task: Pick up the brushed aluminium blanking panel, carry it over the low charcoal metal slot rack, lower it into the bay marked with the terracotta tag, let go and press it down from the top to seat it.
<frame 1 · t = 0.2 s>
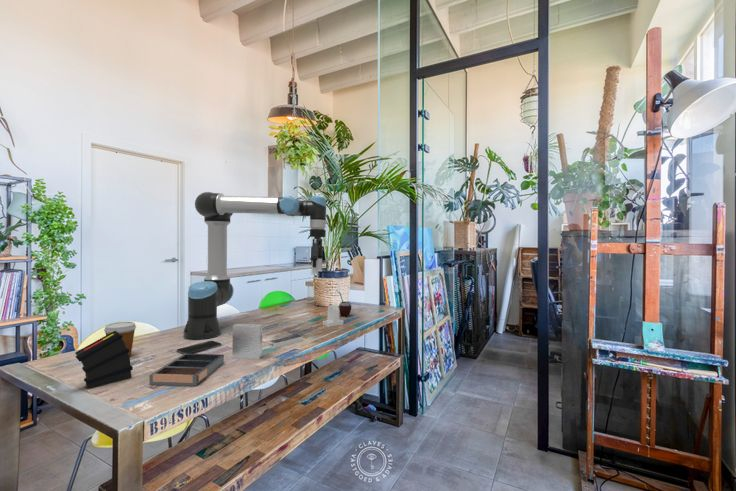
hand: (316, 272, 166), 28 cm above the table, tool pointing down, fingers open, 13 cm apart
blanking panel: (247, 357, 128), on the table
multiport hub: (286, 344, 146), on the table
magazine: (104, 383, 103), on the table
disposable coffee cup: (120, 357, 125), on the table
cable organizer: (333, 324, 178), on the table
mate gourd: (344, 316, 197), on the table
phone: (199, 349, 136), on the table
slot rack: (189, 373, 112), on the table
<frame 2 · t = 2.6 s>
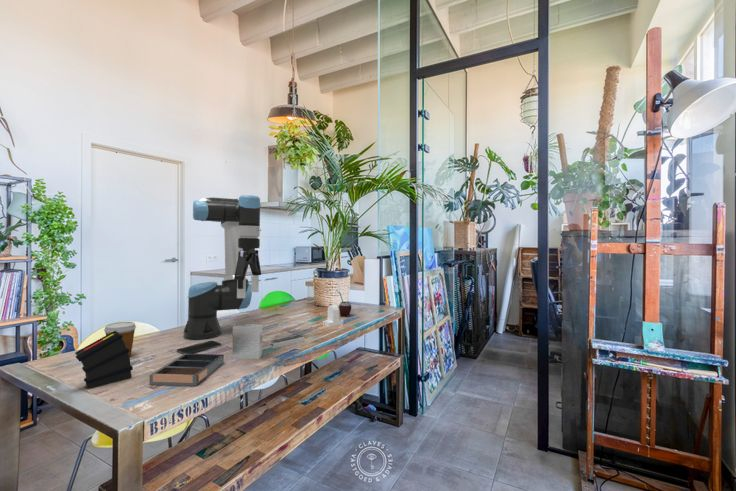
hand: (248, 295, 127), 23 cm above the table, tool pointing down, fingers open, 13 cm apart
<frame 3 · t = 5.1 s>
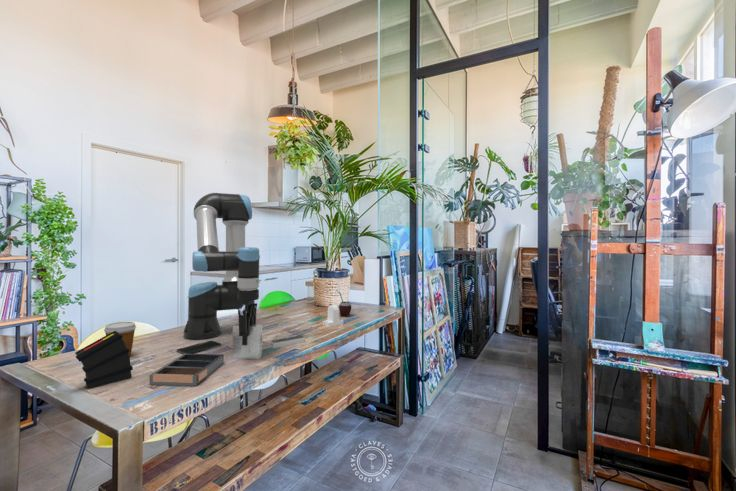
hand: (247, 351, 128), 2 cm above the table, tool pointing down, fingers closed on blanking panel, 3 cm apart
blanking panel: (247, 357, 128), on the table, touching gripper
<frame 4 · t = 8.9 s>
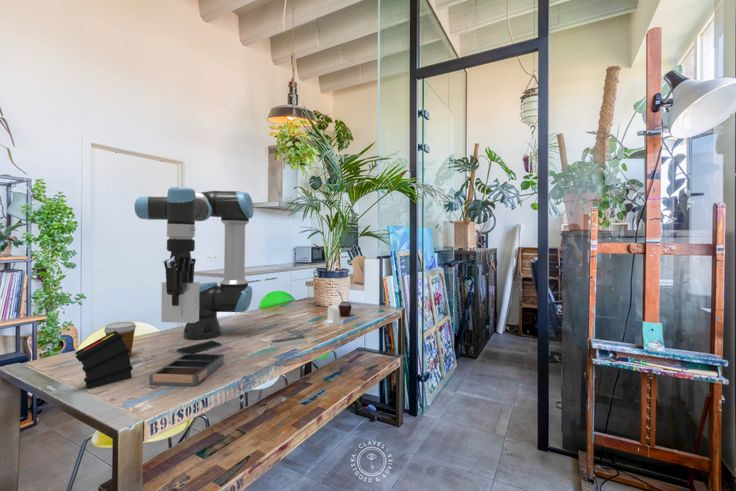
hand: (180, 314, 106), 21 cm above the table, tool pointing down, fingers closed on blanking panel, 3 cm apart
blanking panel: (180, 321, 106), point 18 cm above the table, touching gripper
when the fingers open (5 cm above the table, at t = 12.5 s): blanking panel drops 1 cm, resting on slot rack.
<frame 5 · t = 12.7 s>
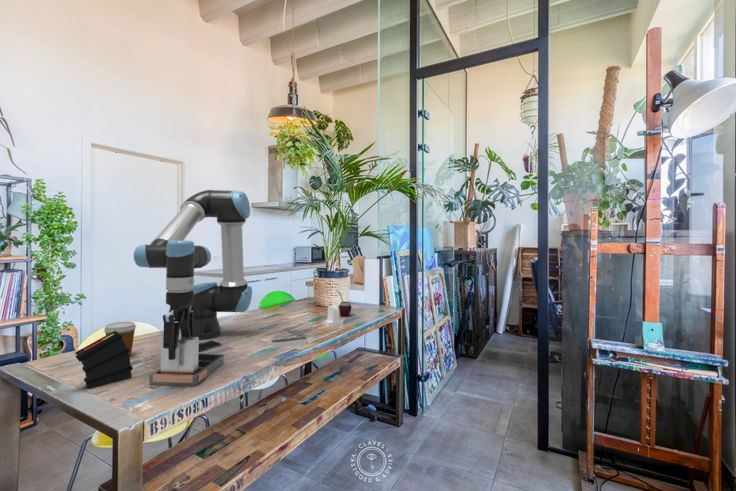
hand: (179, 365, 106), 5 cm above the table, tool pointing down, fingers open, 5 cm apart
blanking panel: (179, 376, 106), point 1 cm above the table, touching slot rack
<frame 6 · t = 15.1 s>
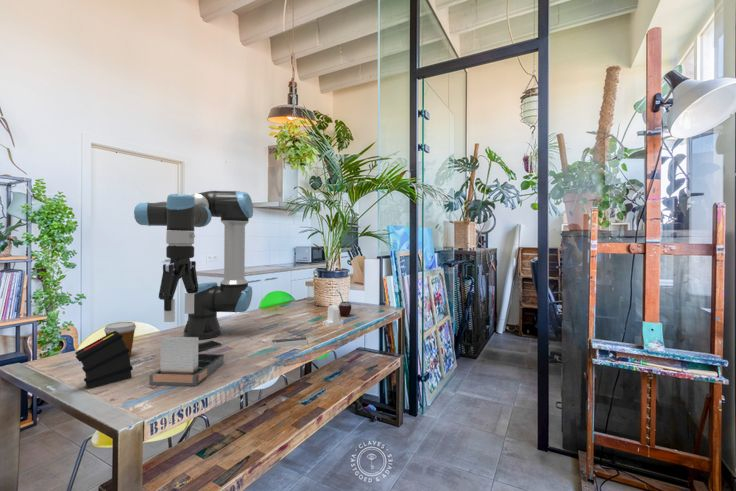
hand: (179, 317, 106), 20 cm above the table, tool pointing down, fingers open, 10 cm apart
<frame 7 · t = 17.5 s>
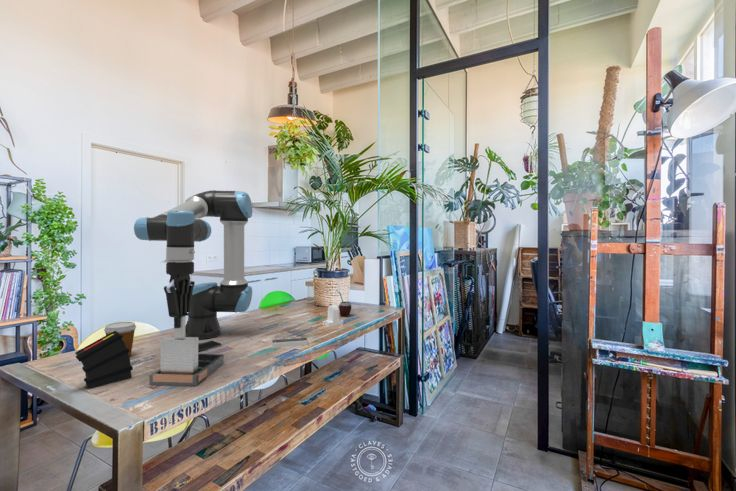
hand: (179, 337, 106), 13 cm above the table, tool pointing down, fingers closed
blanking panel: (179, 376, 106), point 1 cm above the table, touching gripper, slot rack
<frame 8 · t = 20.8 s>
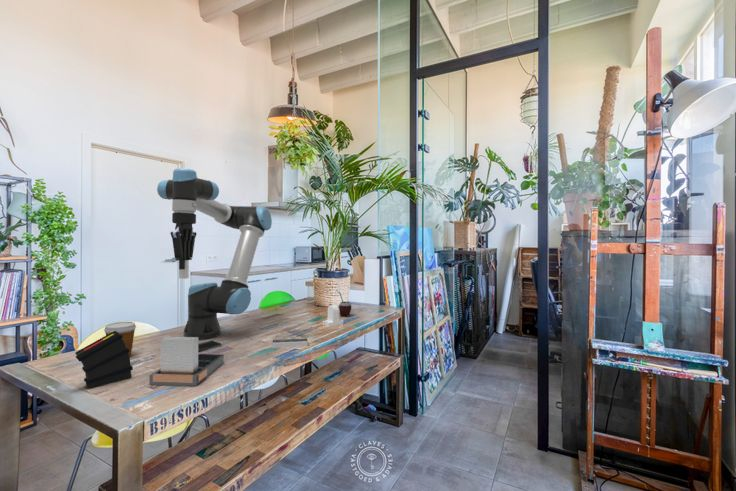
hand: (183, 278, 123), 29 cm above the table, tool pointing down, fingers closed
blanking panel: (179, 376, 106), point 1 cm above the table, touching slot rack
at the end: blanking panel 0.1 cm from the target spot on the slot rack, point 1.2 cm above the slot rack's base; blanking panel tilted 0°; the gripper is holding nothing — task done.
